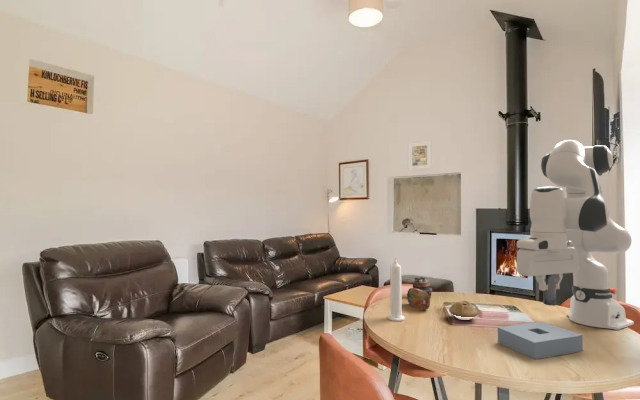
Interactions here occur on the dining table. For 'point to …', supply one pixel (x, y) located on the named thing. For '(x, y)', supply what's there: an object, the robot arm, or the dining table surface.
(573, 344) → the hole block
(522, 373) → the dining table surface
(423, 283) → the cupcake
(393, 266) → the candle
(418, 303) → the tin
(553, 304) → the peg
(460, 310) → the oil lamp
